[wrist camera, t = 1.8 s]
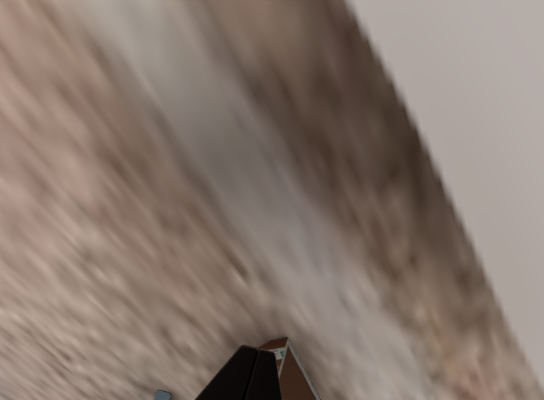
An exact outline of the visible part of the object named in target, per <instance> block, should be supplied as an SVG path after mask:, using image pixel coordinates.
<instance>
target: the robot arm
mask: <svg viewBox="0 0 544 400" xmlns="http://www.w3.org/2000/svg"><path fill="white" fill-rule="evenodd" d="M195 400H283V399H282V393H281V387H280V380H279V374H278V367H277V361H276V355H275V353H274V352H273V351H270V350H265V349H259V350H258V349H257V348H256V347H253V346H248V345H242V346H240V347H239V349H238V350H237V351H236V352H235V353H234V354H233V356H232V357H231V358H230V359H229V360H228V361H227V363H226V364H225V365H224V366H223V367H222V368H221V370H220V371H219V372H218V373H217V374H216V375H215V377H214V378H213V379H212V380H211V381H210V382H209V384H208V385H207V386H206V387H205V388H204V389H203V391H202V392H201V393H200V394H199V395H198V396H197V398H196V399H195Z"/></svg>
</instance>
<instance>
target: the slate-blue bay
mask: <svg viewBox="0 0 544 400" xmlns="http://www.w3.org/2000/svg"><path fill="white" fill-rule="evenodd" d="M154 400H171V393H167V392H163V391H159V390H158V391H157V393H156V395H155V398H154Z"/></svg>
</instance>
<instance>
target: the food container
mask: <svg viewBox="0 0 544 400" xmlns="http://www.w3.org/2000/svg"><path fill="white" fill-rule="evenodd" d="M257 349H258V350H259V349H265V350H270V351H273V352H274V353H275V355H276V361H277V367H278V374H279V380H280V387H281V393H282V399H283V400H321V399H320V397H319V395H318V393H317V391H316V390H315V388H314V386H313V384H312V382H311V380H310V378H309V376H308V374H307V372H306V370H305V369H304V367H303V365H302V363H301V361H300V359H299V357H298V355H297V353H296V351H295V350H294V348H293V346H292V344H291V342H290V340H289V338H288V337H287V338H282V339H277V340H272V341H270V342H268V343H266V344H264V345H262V346H260V347H258V348H257Z"/></svg>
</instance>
